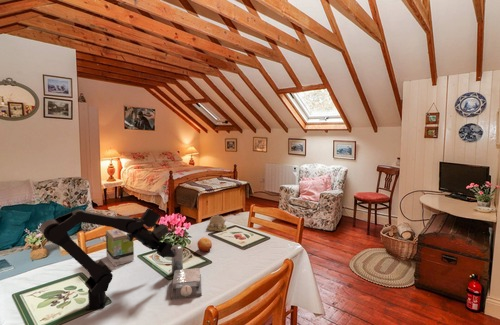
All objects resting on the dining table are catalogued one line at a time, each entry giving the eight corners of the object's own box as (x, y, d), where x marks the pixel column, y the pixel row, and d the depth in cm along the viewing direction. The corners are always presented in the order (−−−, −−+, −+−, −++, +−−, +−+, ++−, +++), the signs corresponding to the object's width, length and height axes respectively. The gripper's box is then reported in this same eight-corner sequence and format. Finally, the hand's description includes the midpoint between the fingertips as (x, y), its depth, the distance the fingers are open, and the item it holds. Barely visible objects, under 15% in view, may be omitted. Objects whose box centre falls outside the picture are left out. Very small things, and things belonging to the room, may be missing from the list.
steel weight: (182, 274, 125) (182, 248, 124) (171, 275, 124) (171, 249, 123) (183, 269, 130) (182, 244, 129) (172, 270, 129) (171, 245, 128)
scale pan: (200, 286, 112) (200, 280, 112) (172, 289, 110) (172, 283, 109) (199, 273, 122) (199, 267, 122) (174, 275, 120) (174, 270, 120)
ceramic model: (228, 226, 193) (228, 213, 192) (225, 232, 182) (225, 217, 181) (209, 225, 195) (209, 212, 194) (205, 231, 184) (205, 216, 183)
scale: (201, 296, 108) (201, 284, 108) (170, 299, 106) (170, 287, 105) (200, 276, 123) (200, 266, 123) (173, 279, 121) (173, 268, 120)
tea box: (134, 260, 139) (133, 233, 137) (113, 266, 132) (112, 238, 131) (125, 251, 150) (124, 225, 149) (106, 256, 144) (104, 229, 142)
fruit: (203, 243, 159) (207, 233, 155) (210, 253, 155) (215, 243, 152) (192, 247, 152) (196, 237, 149) (200, 257, 149) (204, 247, 145)
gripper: (167, 225, 111) (190, 243, 120) (147, 215, 124) (169, 232, 133) (150, 249, 107) (175, 265, 116) (131, 236, 119) (155, 252, 128)
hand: (169, 252), depth 123 cm, fingers open, 9 cm apart
